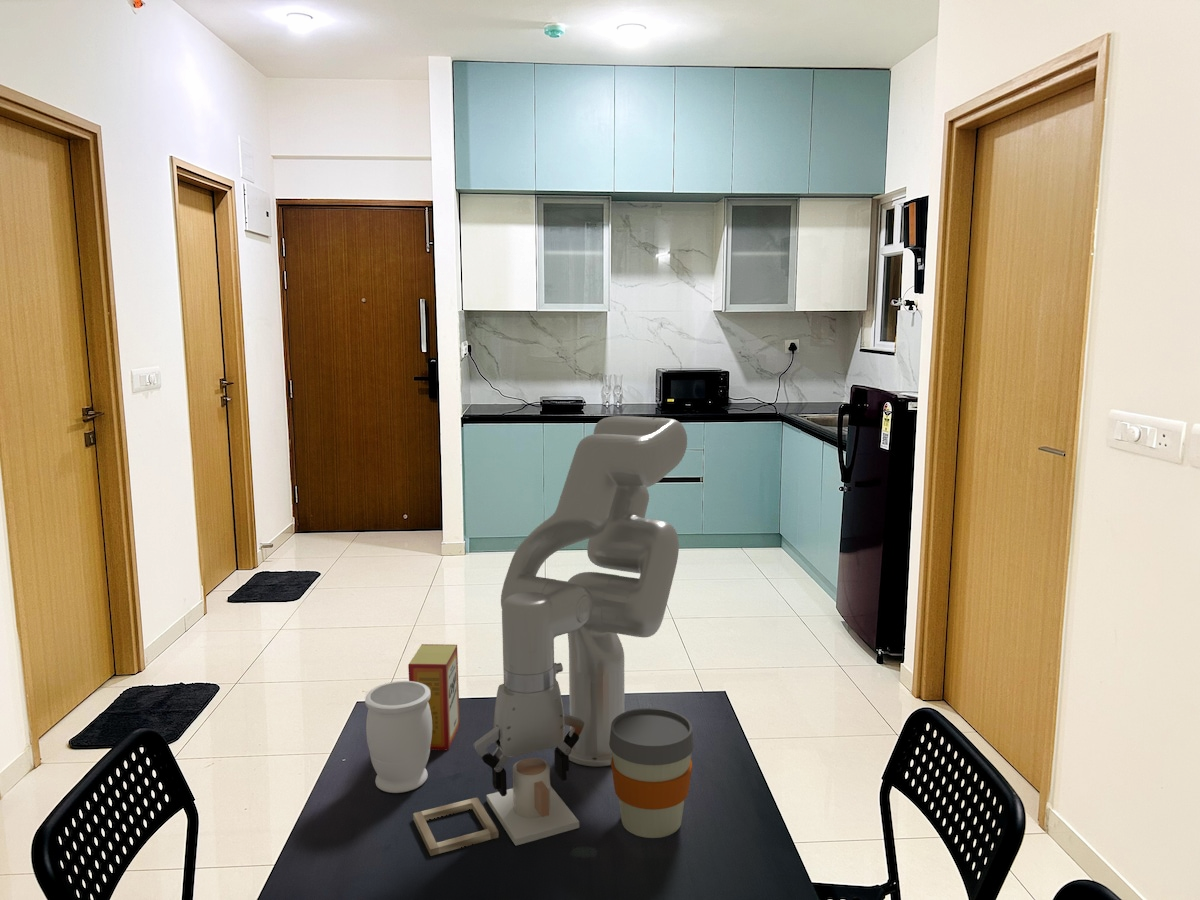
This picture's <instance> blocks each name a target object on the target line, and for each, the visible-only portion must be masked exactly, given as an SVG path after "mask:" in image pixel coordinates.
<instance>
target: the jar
mask: <svg viewBox="0 0 1200 900" xmlns="http://www.w3.org/2000/svg"><path fill="white" fill-rule="evenodd" d="M430 697H431V692H430V688H429V687H428V686H427V685H425V684H423V683H420V682H415V681H409V680H398V681H392V682H386V683H383V684H379V685H378V686H375V687H373V688H371V689H370V690H369V691H368V692H367V693H365V696H364V705H365V706H366V708H367V709H368V710H367V715H366V724H365V725H366V726H365V732H366V736H365V737H366V742H367V747H368V749H369V750H368V751H369V754H370V756H369V757H370V761H371V764H372V767H373V769H374V771H375V773H376V774H377V775H376V776H375V781H374V782H375V786H376V787H377V789H379V790H380V791H383V792H386V793H390V794H391V793H392V794H399V793H406V792H410V791H414V790H416V789H418V788H419V787H421V786H423V785H424V783H425V782H427V779H428V777H429V776H428V773H429V772H428V771H427V769H426V766H427V764H428V762H429V757H430V754H431V750H430V745H431V738H432V716H431V710H430V706H429V703H428V701H429V699H430Z"/></svg>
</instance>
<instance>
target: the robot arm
mask: <svg viewBox="0 0 1200 900" xmlns="http://www.w3.org/2000/svg"><path fill="white" fill-rule="evenodd" d="M687 448H688V434H687V431H686V429H685V427H684V425H683V424H682V423H681V422H680V421H678V419H677V420H676V419H674V418H667V417H666V418H665V417H653V416H652V417H650V416H649V417H647V416H632V415H631V416H629V415H628V416H627V415H614V416H608V417H603V418H602V419H600V420H599V421H598V422H597V423H596V424H595V427H594V429H593V434H590V435H587V436H585V437H584V438H582V439H581V440H580V441H579V442H578V444H577V446H576V448H575V451H574V454H573V457H572V460H571V464H570V466H569V469H568V472H567V475H566V479H565V482H564V485H563V488H562V491H561V494H560V497H559V500H558V503H557V507H556V508H555V511H554V513H553V514H552V515H551V516H550V517H549V518H547V519H546V520H544V521H543V522H542V523H540V524H539V525H538V526H536V528H535V529H533V531H532V532H530V534H528V535H527V536H526V538H525V539H524V540H523V541H522V542H521V543H520V545H519V546H518V547H517V548H516V550H515V552H514V554H513V556H512V558H511V561H510V563H509V567H508V569H507V572H506V576H505V578H504V582H503V586H502V589H501V595H500V607H501V627H502V630H501V631H502V633H501V635H502V658H503V659H502V664H503V665H502V669H503V683H502V684H499V685H498V687H497V692H496V697H495V698H496V699H495V705H494V714H493V715H494V716H493V728H492V729H490V731H488V732H487V733H485V734H484V735H482V736H481V737H479V739H477V740H476V741H475V742H474V743H473V748H474V750H475V751H476V752H477V754H478V755H479V757H480V759H481V760H482V762H483V763H484V764H485V765H487V766H489V768H491V774H492V776H491V777H492V786H493V789H494V790H495V791H496V790H497V792H499V793H500V794H501V796H506V794H507V788H508V787H507V784H508V783H507V771H506V769H505V768H504V767H505V766H506V765H507V763H508V762H509V761H510V758H513V757H519V756H523V755H528V754H532V753H537V752H541V751H544V750H548V749H553V748H555V749H554V751H553V753H554V755H553V756H554V773H555V774H556V775H557V776H558V778H559V779H560V780H561V781H563V782H564V781H567V780H568V773H567V772H568V771H570V767H569V765H570V762H572V763H575V764H577V765H581V766H586V767H608V766H611V759H612V757H613V753H612V750H611V749H610V745H609V740H610V731H611V724H612V721H613V720H614V719H615V718H616V717H617V716H618V715H620V714H622V713H624V712H625V651H624V647H623V643H622V642H621V639H620V638H619V635H624V636H631V637H636V638H649V637H650V638H651V637H652V636H654V635H655V634H656V633H657V632H658V631H659V629H660V627H661V626H662V622H663V620H664V617H665V613H666V609H667V605H668V602H669V601H668V600H669V597H670V592H671V589H672V584H673V582H674V575H675V572H676V568H677V563H678V559H679V549H680V547H679V546H680V544H679V536H678V532H677V530H676V529H675V527H674V526H673V525H672V524H671V523H669V522H667V521H665V520H660V519H655V518H654V519H653V518H646V514H647V513H646V512H647V510H648V505H649V502H650V501H649V500H650V494H649V493H650V492H649V490H648V488H649V487H651V486H654V485H656V484H657V483H658V482H660V481H661V480H662V479H663V478H665V477H666V476H667V475H668V474H669V473H670V472H671V471H673V470H675V468H676V467H678V466H679V464H680V463H681V461H682V460H683V458H684V456H685V453H686V451H687ZM585 540H588V541H587V549H586V551H587V557H588V559H589V561H590V562H591V563H592V564H594V565H596V566H597V567H598V568H599V567H600V568H604V569H606V570H607V569H608V570H614V571H620V572H627V573H635V574H639V578H637V577H630V576H623V575H617V574H610V573H606V572H605V573H604V572H597V571H596V572H595V571H585V572H579V573H576V574H574V575H573V576H571V577H570V578H569V579H568V580H567V581H566V580H559V579H554V578H548V577H541V576H537V574H538V572H539V571H540V568H541V567H542V566H543V564H544V563H545V562H546V560H548V558H549V557H550V556H552V555H554V554H555V553H556V552H558V551H560V550H561V549H564V548H566V547H569V546H572V545H575V544H577V543H579V542H582V541H583V542H584V541H585ZM565 634H567V639H568V640H567V641H568V642H567V643H568V676H569V677H568V680H569V681H568V682H569V683H568V684H569V685H568V686H569V688H568V689H569V693H568V694H569V697H568V699H569V714H567V713H565V711H564V704H563V699H562V693H561V688H560V686H559V685H560V683H559V681H558V680H557V674H559V673H561V672H563V671H564V667H563V664H562V663H561V662H555V638H557V637H558V636H559V637H560V636H562V635H565ZM566 726H569V731H568V732H567V734H566ZM492 744H495V746H497V747H496V749H494V751H493V752H492V754H491V753H490V752H489V751H488V747H490V746H491V745H492ZM569 761H570V762H569Z"/></svg>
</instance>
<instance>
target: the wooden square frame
mask: <svg viewBox="0 0 1200 900" xmlns="http://www.w3.org/2000/svg"><path fill="white" fill-rule="evenodd" d="M469 809H470V810H472V811H473V813H474V814H475V817H476V818H477V820H478V821H479V823H480V824H481V826H482V828H483V829H482V830H479V831H475V832H472V833H467V834H463V835H460V836H457V837H453V838H449V839H444V840H443V841H437V840H436V839H435V837H434V834H433V832H432V831H431V828H430V827H429V825H428V823H427V821H430V820H429V819H431V820H435V819H438V818H437V817H439V818H442V817H441V816H443V817H446V815H447V816H450V815H449V814H451V815H453V813H454V814H457V813H461V812H466V811H469ZM412 816H413V821H414V823H415V826H416V828H417V830H418V832H419V834H420V837H421V839H422V841H423V843H424V845H425V847H426V849H427V851H428V854H429V856H431V857H432V856H436V855H439V854H442V853H446V852H450V851H455V850H457V849H458V850H459V849H461V847H462V848H465V847H464V846H466V847H469V846H472V844H473V845H476V844H480V843H483V842H486V841H489V840H490V841H491V840H493V839H494V840H495V839H498V838H499V829H498V828H497V825H496V824H495V823H494V821H493V820H492V818H491V817H490V816H489V814H488V813H487V811H486V809H485V807H484V805H483V803H482V802H481V801H480V799H479V798H478V797H472V798H469V799H465V800H461V801H457V802H451V803H449V804H444V805H440V806H437V807H434V808H429V809H425V810H421V811H417V812H414V813H413V814H412ZM434 818H435V819H434Z"/></svg>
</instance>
